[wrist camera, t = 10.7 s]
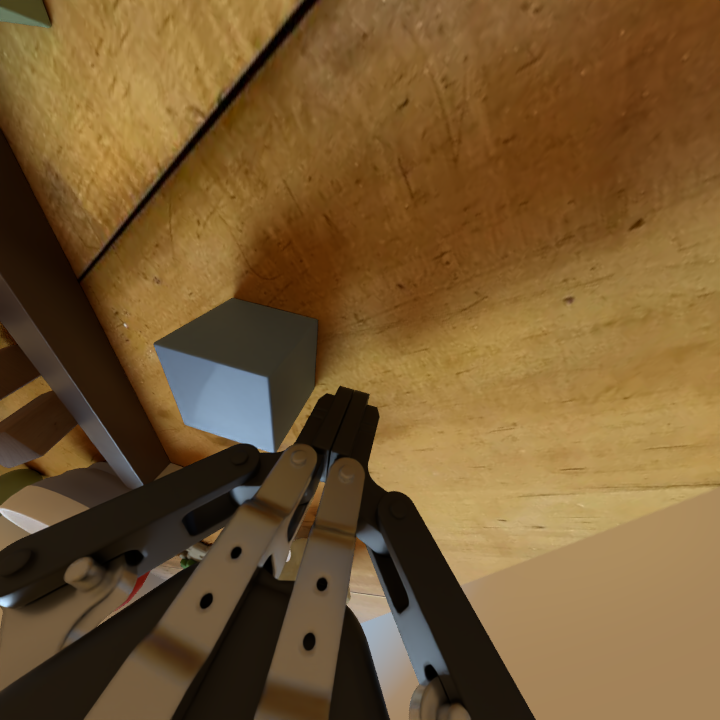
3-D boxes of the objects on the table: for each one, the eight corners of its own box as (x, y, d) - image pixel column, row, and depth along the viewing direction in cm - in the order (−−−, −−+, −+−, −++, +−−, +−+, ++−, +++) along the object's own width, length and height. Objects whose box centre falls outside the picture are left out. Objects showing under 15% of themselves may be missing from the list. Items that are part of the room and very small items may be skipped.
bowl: (179, 521, 40) (132, 583, 34) (90, 480, 39) (26, 535, 33) (176, 481, 31) (113, 554, 25) (62, 427, 31) (-32, 489, 24)
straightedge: (-223, -312, 7) (-573, -570, 5) (174, 470, 29) (150, 495, 27) (-300, -309, 7) (-662, -547, 5) (151, 462, 30) (125, 486, 27)
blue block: (318, 319, 14) (268, 376, 10) (314, 388, 17) (275, 454, 13) (232, 296, 14) (151, 342, 10) (243, 368, 17) (183, 425, 13)
